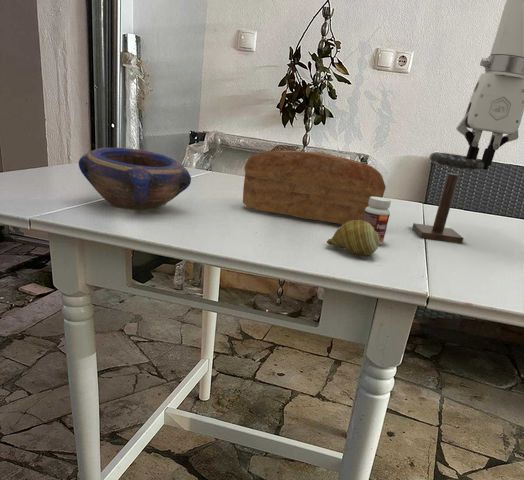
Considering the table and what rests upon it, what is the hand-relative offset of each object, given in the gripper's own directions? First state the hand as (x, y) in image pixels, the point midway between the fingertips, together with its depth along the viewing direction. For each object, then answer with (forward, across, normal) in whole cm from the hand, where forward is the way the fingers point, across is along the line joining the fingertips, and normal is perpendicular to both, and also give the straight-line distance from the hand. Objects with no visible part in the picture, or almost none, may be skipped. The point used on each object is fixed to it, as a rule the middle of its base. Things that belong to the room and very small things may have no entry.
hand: (476, 167), depth 106 cm
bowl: (+16, -68, -13) cm, 71 cm away
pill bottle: (+16, -21, -15) cm, 30 cm away
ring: (-1, -4, 0) cm, 4 cm away
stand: (+15, -4, 0) cm, 16 cm away
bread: (+16, -33, +1) cm, 37 cm away
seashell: (+16, -26, -25) cm, 39 cm away
